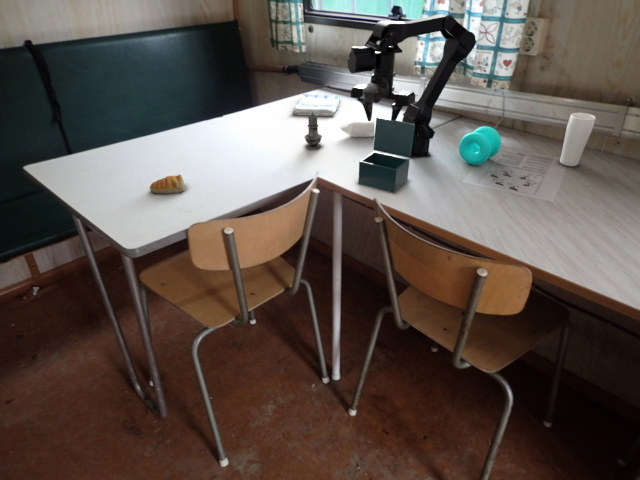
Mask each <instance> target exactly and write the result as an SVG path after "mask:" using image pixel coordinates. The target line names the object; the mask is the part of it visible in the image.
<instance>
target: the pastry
mask: <svg viewBox="0 0 640 480" xmlns="http://www.w3.org/2000/svg"><path fill="white" fill-rule="evenodd" d="M149 190H150V191H151V192H152V193H154V194H159V195H160V194H164V195H165V194H174V193H176V194H179V193H181V192H184V191H185V181H184V178H183V176H182V174H180V173H179V174H178V175H166V176H165V177H163V178H160V179H157V180H155V181H154V182H152V183H151V184H150V185H149Z"/></svg>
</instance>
